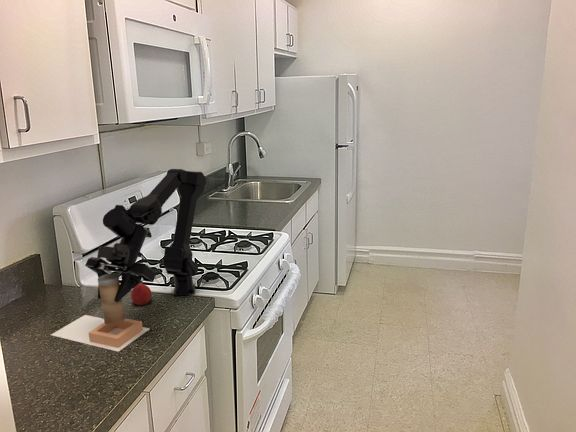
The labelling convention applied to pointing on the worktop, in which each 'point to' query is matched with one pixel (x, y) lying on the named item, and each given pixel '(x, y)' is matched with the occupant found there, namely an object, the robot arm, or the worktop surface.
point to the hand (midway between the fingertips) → (107, 300)
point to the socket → (105, 338)
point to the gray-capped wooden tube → (110, 299)
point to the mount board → (84, 326)
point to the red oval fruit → (141, 294)
